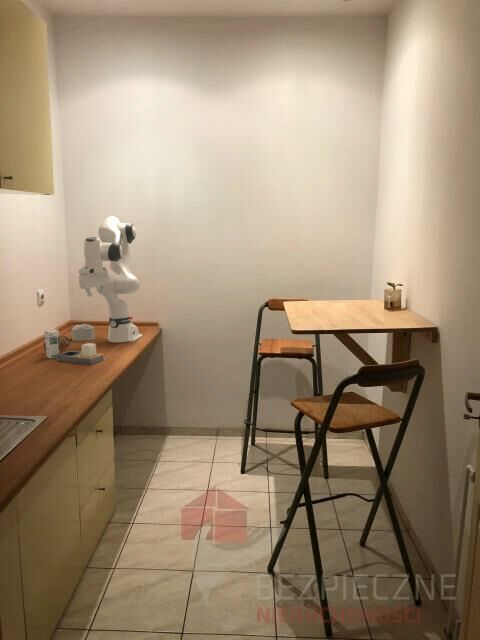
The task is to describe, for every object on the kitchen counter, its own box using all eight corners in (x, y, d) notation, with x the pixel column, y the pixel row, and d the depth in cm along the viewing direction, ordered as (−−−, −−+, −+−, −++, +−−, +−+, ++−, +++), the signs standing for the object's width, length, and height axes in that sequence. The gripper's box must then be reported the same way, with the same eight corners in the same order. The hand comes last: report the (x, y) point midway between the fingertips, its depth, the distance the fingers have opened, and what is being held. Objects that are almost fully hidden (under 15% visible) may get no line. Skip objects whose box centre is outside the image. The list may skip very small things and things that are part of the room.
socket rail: (70, 356, 285) (70, 350, 285) (103, 360, 276) (103, 354, 276) (57, 360, 276) (56, 354, 276) (90, 365, 267) (90, 358, 267)
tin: (46, 354, 289) (45, 339, 287) (43, 353, 290) (42, 338, 289) (70, 349, 300) (69, 334, 299) (66, 348, 302) (65, 333, 301)
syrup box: (50, 359, 280) (48, 331, 277) (46, 356, 284) (44, 330, 281) (61, 357, 283) (59, 330, 280) (56, 355, 288) (54, 328, 285)
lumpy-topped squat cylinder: (74, 337, 330) (73, 323, 328) (96, 336, 331) (95, 323, 330) (71, 341, 320) (70, 327, 318) (93, 340, 321) (92, 326, 319)
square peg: (89, 359, 277) (87, 343, 275) (96, 360, 275) (95, 343, 273) (82, 362, 273) (81, 345, 271) (90, 363, 271) (89, 346, 269)
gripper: (101, 266, 290) (103, 291, 293) (76, 270, 271) (78, 297, 274) (111, 266, 287) (112, 292, 290) (86, 271, 269) (87, 298, 272)
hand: (95, 294), depth 282 cm, fingers open, 8 cm apart
